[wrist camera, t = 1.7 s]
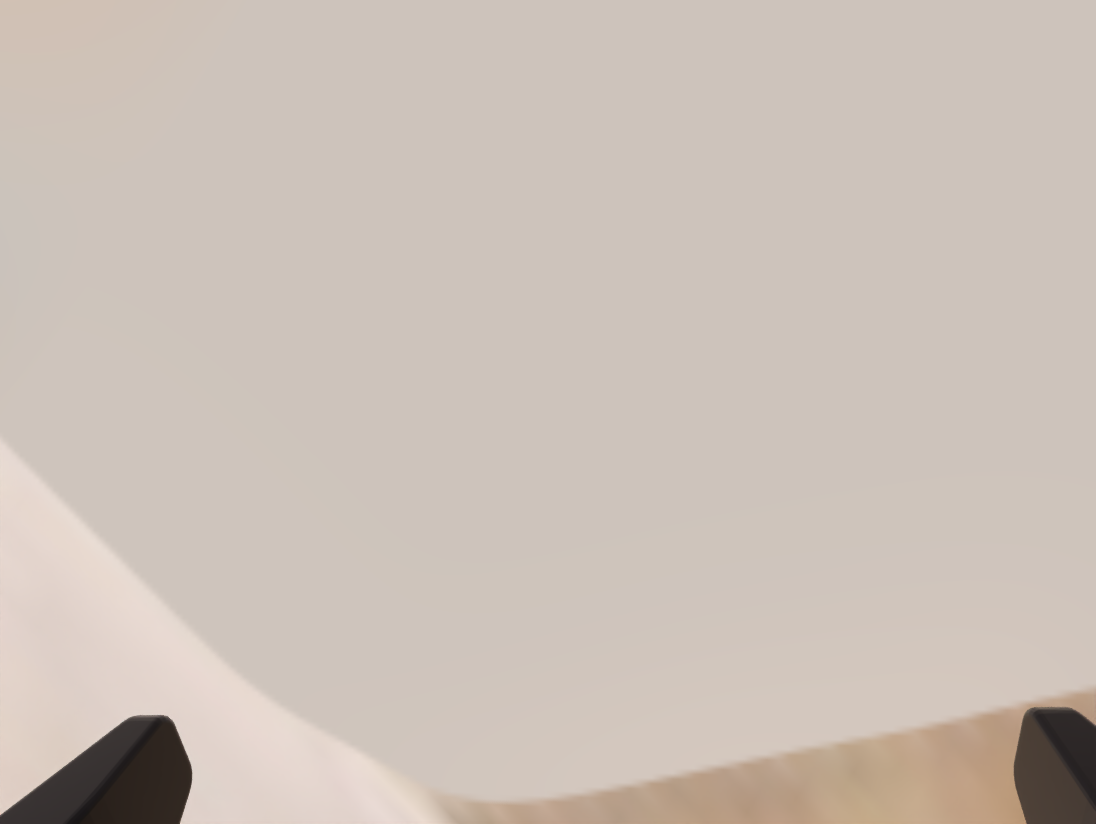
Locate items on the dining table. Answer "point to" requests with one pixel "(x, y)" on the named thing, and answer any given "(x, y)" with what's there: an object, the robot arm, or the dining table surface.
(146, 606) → the dining table surface
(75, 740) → the dining table surface
